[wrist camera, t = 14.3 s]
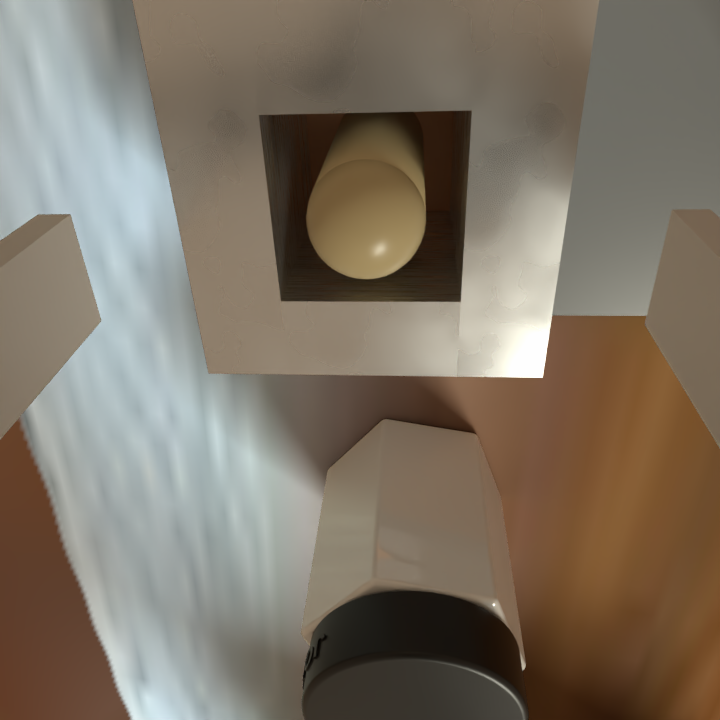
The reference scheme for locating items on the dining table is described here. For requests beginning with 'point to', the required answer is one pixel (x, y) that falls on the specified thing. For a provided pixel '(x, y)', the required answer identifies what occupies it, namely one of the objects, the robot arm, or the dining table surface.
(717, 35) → the post board
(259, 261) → the collar
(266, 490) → the dining table surface
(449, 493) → the jar
